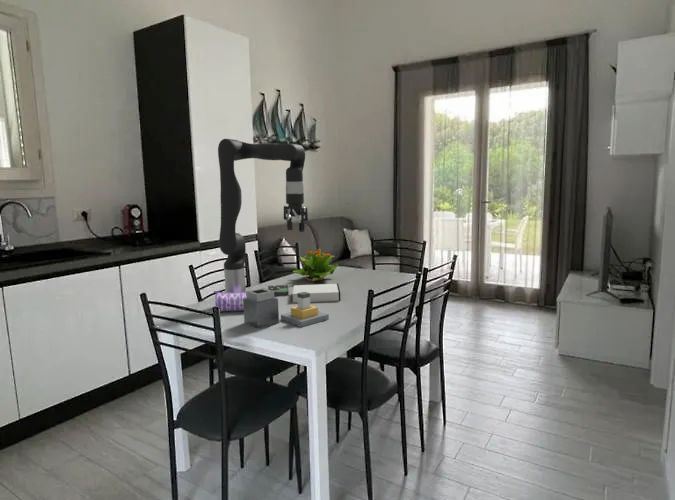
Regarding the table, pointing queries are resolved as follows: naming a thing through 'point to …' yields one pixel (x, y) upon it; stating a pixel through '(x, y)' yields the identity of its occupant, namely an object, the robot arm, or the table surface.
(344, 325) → the table surface
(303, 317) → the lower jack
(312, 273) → the potted flower
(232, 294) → the pencil case
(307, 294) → the plug
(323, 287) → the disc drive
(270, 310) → the grey open sleeve
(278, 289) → the disk drive
